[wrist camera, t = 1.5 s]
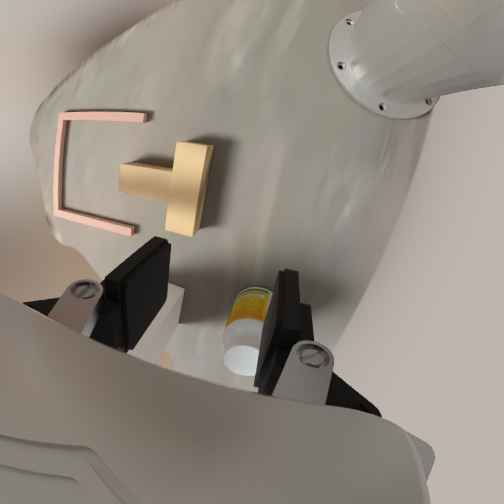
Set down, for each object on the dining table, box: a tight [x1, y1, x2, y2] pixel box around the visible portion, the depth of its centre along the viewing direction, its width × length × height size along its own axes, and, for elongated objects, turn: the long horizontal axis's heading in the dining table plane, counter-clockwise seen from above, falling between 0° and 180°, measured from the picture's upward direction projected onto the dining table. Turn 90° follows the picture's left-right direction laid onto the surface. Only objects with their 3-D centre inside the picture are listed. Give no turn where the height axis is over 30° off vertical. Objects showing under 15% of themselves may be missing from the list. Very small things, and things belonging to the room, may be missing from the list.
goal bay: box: [53, 112, 148, 236], centre depth 28 cm, size 14×14×1 cm
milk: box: [127, 283, 185, 364], centre depth 23 cm, size 6×6×22 cm
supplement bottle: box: [223, 287, 273, 376], centre depth 28 cm, size 5×5×10 cm
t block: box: [119, 141, 214, 237], centre depth 27 cm, size 9×9×2 cm
